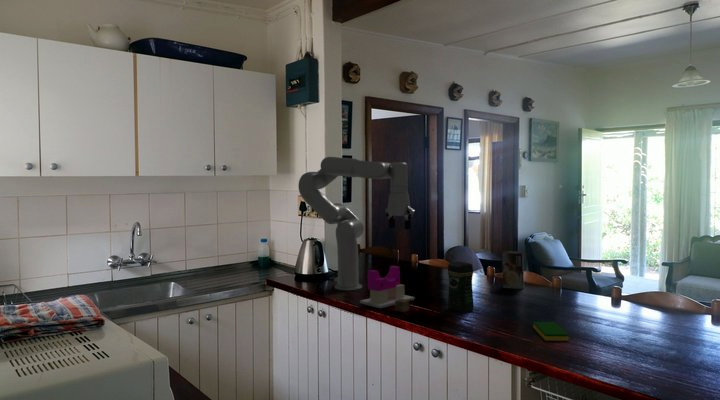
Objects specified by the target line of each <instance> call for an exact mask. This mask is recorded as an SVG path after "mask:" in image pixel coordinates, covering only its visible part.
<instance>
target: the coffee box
mask: <svg viewBox="0 0 720 400" xmlns="http://www.w3.org/2000/svg"><path fill="white" fill-rule="evenodd" d="M501 256H502V258H501V259H502V288H503V289H519V290H524V288H525V280H524V279H525V277H524V276H525V272H524V269H525V268H524V251H508V250H507V251H506V250H505V251H504V250H503V252H502V255H501Z"/></svg>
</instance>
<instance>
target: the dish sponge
mask: <svg viewBox="0 0 720 400" xmlns="http://www.w3.org/2000/svg"><path fill="white" fill-rule="evenodd" d="M532 323H533V325H532V327H533V328H532V329H534V330H535V331H536V332H537V334H538V335H539V336H540V337H541V338H543V340H544V341H546V342H550V341H551V342H552V341H553V342H554V341H555V342H556V341H560V342H561V341H562V342H564V341H565V342H567V341H569V334H568V333H567V332H566V331H565V330H564V329H563V328H562V327H561V326H559V324H557V323H556V322H555V321H533V322H532Z"/></svg>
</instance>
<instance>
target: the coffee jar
mask: <svg viewBox="0 0 720 400" xmlns="http://www.w3.org/2000/svg"><path fill="white" fill-rule="evenodd" d="M447 274H448V275H447V276H448V299H447V308H448V309H450V310H453V311H456V312H466V313H467V312H471V311H473V310H474V296H473V294H474V292H473V276H474V266H473V264H472V263H471V262H465V261H460V260H459V261H458V260H454V261H449V263H448V266H447Z"/></svg>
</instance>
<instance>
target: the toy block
mask: <svg viewBox="0 0 720 400" xmlns="http://www.w3.org/2000/svg"><path fill="white" fill-rule="evenodd" d="M400 268H401V267H400V266H396V265H390V266H389V269H388V270H389V271H388V273H387V274H386V275H385V277H381V275H380V272H379V270H376V269H368V270H367V272H366V273H367V289H368V290H370V289H371V290H375V291H381V290H386V289H387V290H388V289H390V288H395V287H396V285H400V284H401V276H400V275H401V269H400Z"/></svg>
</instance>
